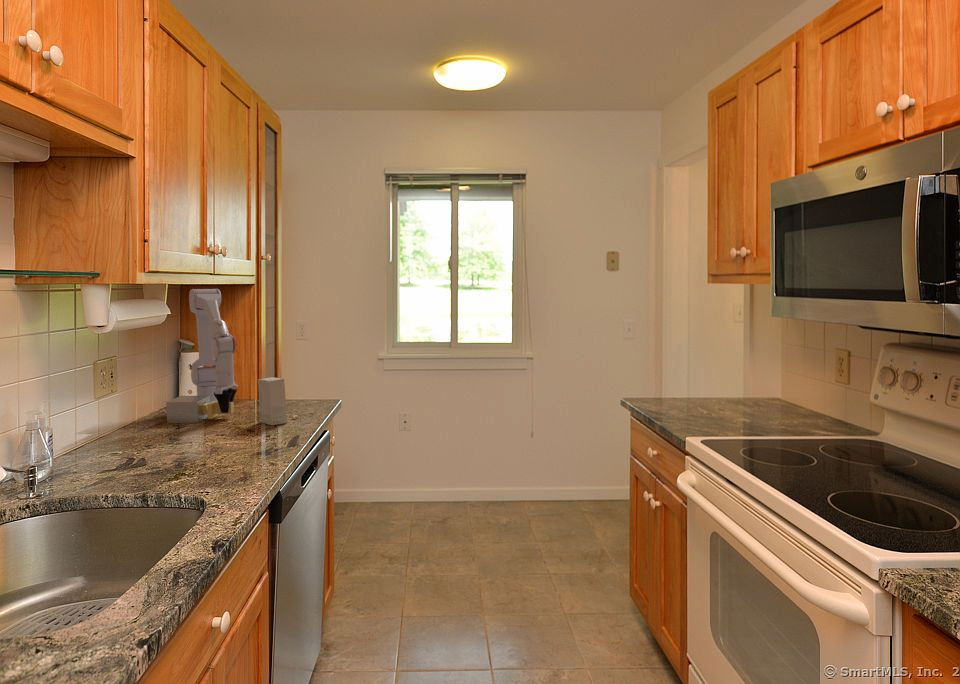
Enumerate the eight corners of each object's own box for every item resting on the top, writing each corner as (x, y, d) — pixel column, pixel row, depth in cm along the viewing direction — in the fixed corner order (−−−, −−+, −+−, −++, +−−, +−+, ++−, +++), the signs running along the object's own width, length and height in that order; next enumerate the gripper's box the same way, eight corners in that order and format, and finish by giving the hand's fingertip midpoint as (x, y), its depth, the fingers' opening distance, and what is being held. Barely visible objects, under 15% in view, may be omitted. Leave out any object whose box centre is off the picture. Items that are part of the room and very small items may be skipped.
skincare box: (287, 423, 216) (286, 378, 215) (270, 426, 212) (268, 380, 211) (275, 419, 222) (274, 376, 221) (258, 422, 218) (257, 378, 217)
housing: (181, 415, 229) (180, 395, 228) (210, 415, 230) (210, 395, 229) (167, 423, 217) (166, 402, 217) (198, 422, 218) (197, 401, 217)
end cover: (190, 415, 226) (189, 401, 226) (235, 415, 227) (234, 400, 227) (183, 419, 220) (183, 404, 220) (229, 418, 221) (229, 404, 221)
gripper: (230, 375, 216) (231, 415, 217) (243, 369, 230) (244, 407, 231) (208, 375, 215) (209, 416, 217) (222, 369, 230) (224, 407, 231)
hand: (226, 411), depth 224 cm, fingers closed on end cover, 3 cm apart
